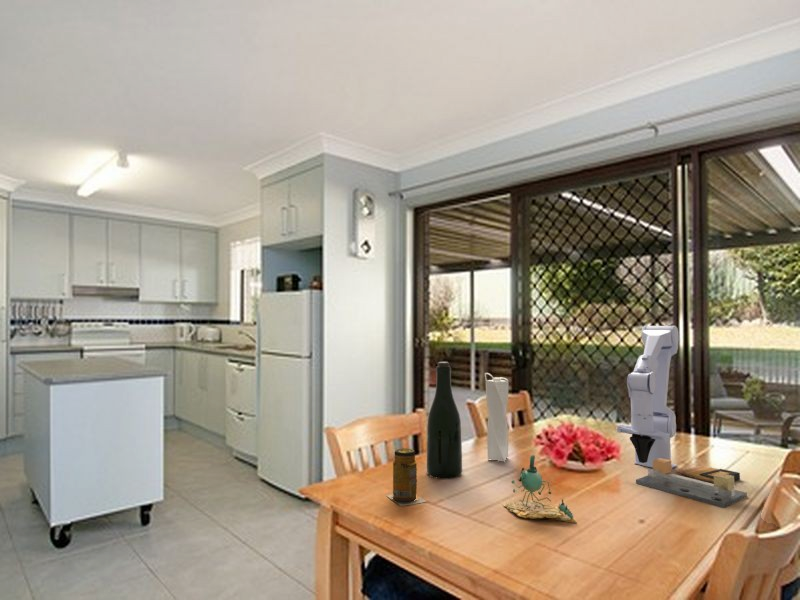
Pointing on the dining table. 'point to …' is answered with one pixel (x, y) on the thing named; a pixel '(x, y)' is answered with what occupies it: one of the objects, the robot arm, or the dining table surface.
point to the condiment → (405, 478)
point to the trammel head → (661, 467)
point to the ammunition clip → (707, 473)
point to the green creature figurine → (534, 508)
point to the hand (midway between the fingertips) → (643, 461)
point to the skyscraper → (497, 418)
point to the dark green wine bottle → (444, 429)
